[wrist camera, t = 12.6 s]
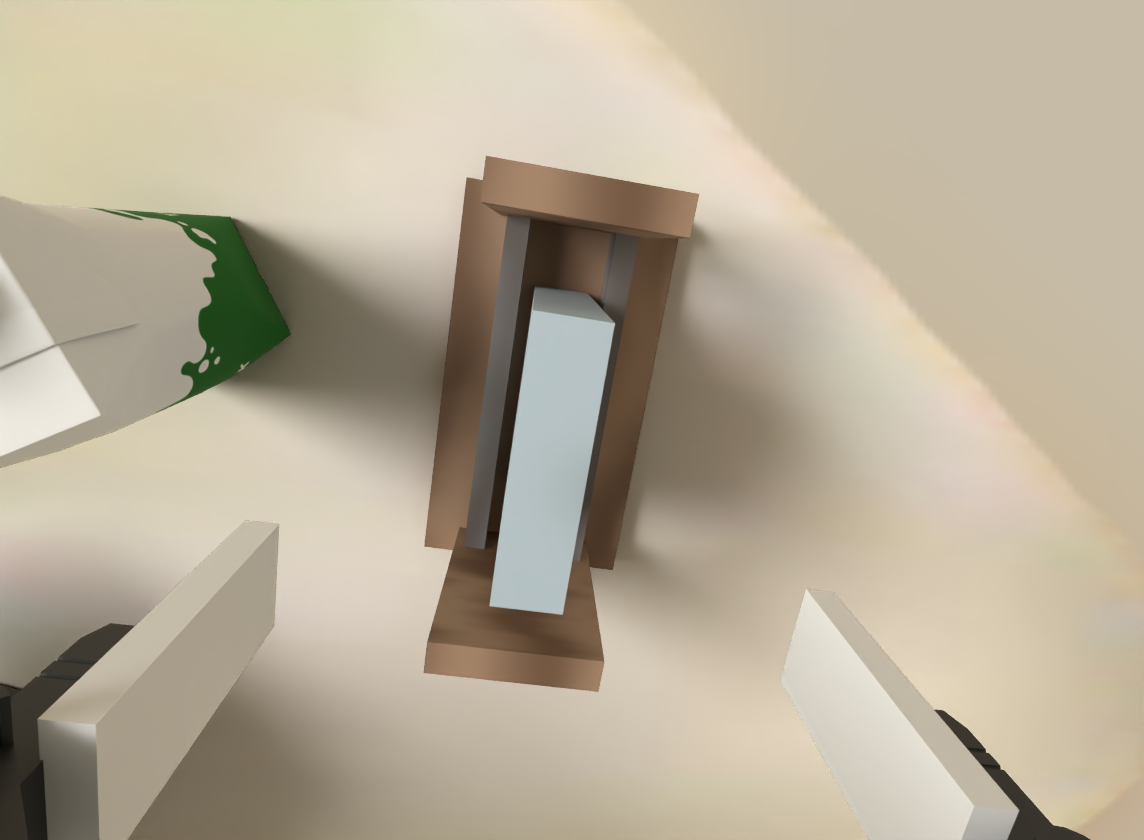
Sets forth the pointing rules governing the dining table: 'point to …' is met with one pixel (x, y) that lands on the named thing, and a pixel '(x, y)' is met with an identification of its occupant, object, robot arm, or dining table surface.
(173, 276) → the milk carton
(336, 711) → the dining table surface
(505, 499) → the door panel
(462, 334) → the track frame
